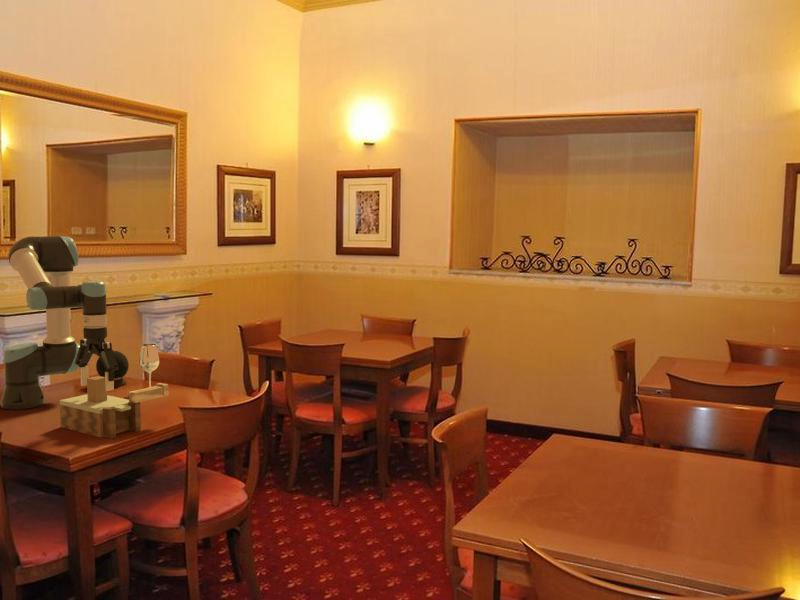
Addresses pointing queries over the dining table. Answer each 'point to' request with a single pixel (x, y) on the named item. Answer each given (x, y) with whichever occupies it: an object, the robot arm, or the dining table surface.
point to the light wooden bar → (148, 393)
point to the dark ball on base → (119, 373)
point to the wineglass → (149, 359)
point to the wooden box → (101, 420)
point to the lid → (96, 398)
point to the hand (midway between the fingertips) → (97, 387)
